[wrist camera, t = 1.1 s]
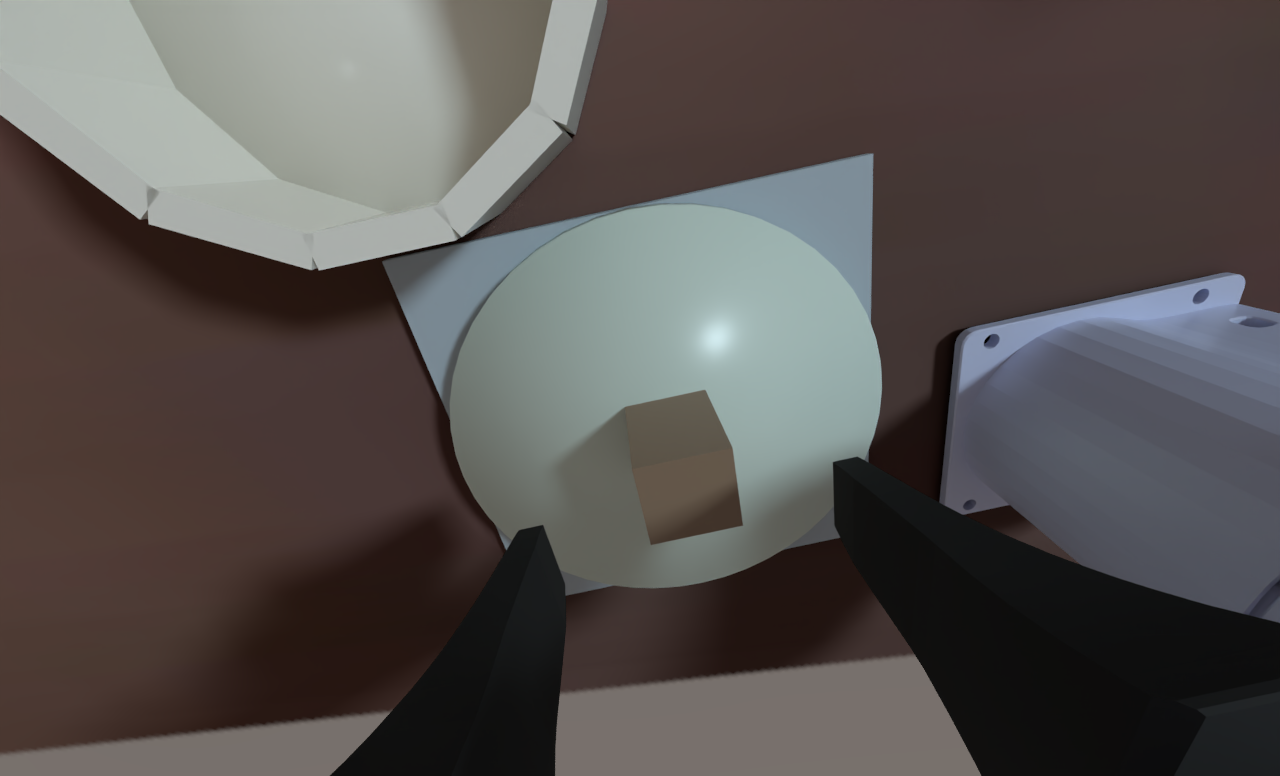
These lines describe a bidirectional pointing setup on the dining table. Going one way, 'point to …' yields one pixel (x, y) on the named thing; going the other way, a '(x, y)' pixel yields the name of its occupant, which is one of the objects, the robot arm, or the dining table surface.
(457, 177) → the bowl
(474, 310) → the mat
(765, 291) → the lid
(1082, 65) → the dining table surface
